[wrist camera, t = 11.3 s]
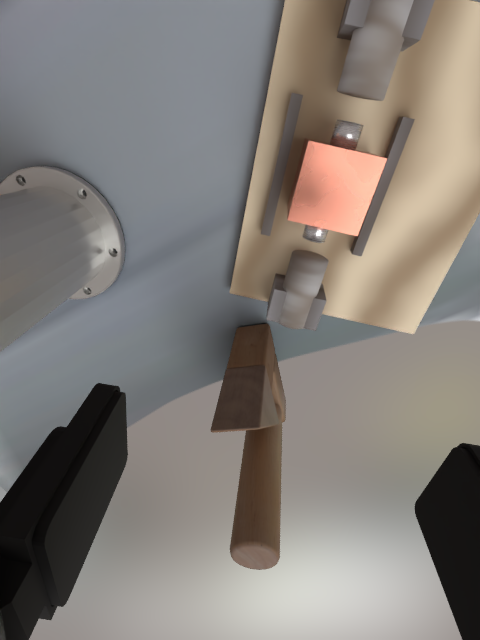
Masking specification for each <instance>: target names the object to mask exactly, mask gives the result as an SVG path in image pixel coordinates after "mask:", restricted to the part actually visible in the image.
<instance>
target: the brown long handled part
mask: <svg viewBox="0 0 480 640" xmlns="http://www.w3.org/2000/svg"><path fill="white" fill-rule="evenodd" d="M285 404H286V400H285V395H284V390H283V386H282V381H281V376H280V372H279V367H278V362H277V358H276V354H275V348H274V344H273V339H272V334H271V330H270V326H269V325H268V324H260V325H252V326H245V327H239V328H237V329H236V333H235V337H234V341H233V345H232V349H231V353H230V357H229V361H228V365H227V370H226V372H225V376H224V380H223V383H222V387H221V391H220V396H219V399H218V403H217V407H216V411H215V415H214V419H213V423H212V427H211V432H227V431H241V430H242V431H243V430H246V435H245V442H244V449H243V458H242V464H241V472H240V479H239V486H238V493H237V501H236V508H235V515H234V523H233V530H232V537H231V545H230V553H231V557H232V558H233V560H234V561H235V562H236V563H238V564H239V565H242V566H244V567H247V568H250V569H258V570H261V569H268V568H272V567H273V566H275V565H276V564H277V562H278V560H279V558H280V505H281V454H282V451H281V450H282V422H284V421H285V411H286V409H285V408H286V405H285Z"/></svg>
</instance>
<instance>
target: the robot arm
mask: <svg viewBox="0 0 480 640" xmlns="http://www.w3.org/2000/svg"><path fill="white" fill-rule="evenodd" d="M85 191H86V193H87V195H86V193H85ZM115 249H116V250H117V251H116V250H115ZM124 260H125V242H124V235H123V232H122V229H121V226H120V223H119V221H118V219H117V217H116V215H115V213H114V211H113V209H112V208H111V207H110V205H109V204H108V202H107V201H106V200H105V198H104V197H103V196H102V195H101V194H100V193H99V192H98V191H97V190H96V189H95V188H94V187H93V186H91V185H90V184H89V183H87V182H86V181H85V180H83V179H82V178H80V177H78V176H76V175H75V174H73V173H71V172H69V171H66V170H63V169H59V168H56V167H49V166H36V167H29V168H24V169H20V170H17V171H16V172H14V173H12V174H10V175H8V176H7V177H6V178H5V179H4V180H3V181H2V182H1V183H0V352H1V351H2V350H4V349H5V348H6V347H7V346H9V345H10V344H11V343H12V342H14V341H15V340H16V339H18V338H19V337H20V336H21V335H23V334H24V333H25V332H26V331H28V330H29V329H30V328H31V327H33V326H34V325H35V324H37V323H38V322H39V321H40V320H42V319H43V318H44V317H45V316H47V315H48V314H49V313H51V312H52V311H53V310H54V309H56V308H57V307H58V306H59V305H61V304H62V303H63V302H65V301H66V300H67V299H86V298H90V297H94V296H96V295H98V294H100V293H102V292H104V291H105V290H106V289H107V288H109V287H110V286H111V285H112V284H113V283H114V282H115V280H116V279H117V278H118V276H119V274H120V272H121V271H122V267H123V264H124ZM127 455H128V452H127V422H126V395H125V393H123V392H120V388H119V386H113V385H107V384H101V383H98V384H96V385H95V386H94V388H93V389H92V391H91V392H90V394H89V395H88V397H87V398H86V399H85V401H84V402H83V404H82V405H81V407H80V408H79V410H78V411H77V413H76V414H75V416H74V417H73V419H72V420H71V422H70V423H69V425H68V426H67V427H57V428H55V429H54V430H53V431H52V432H51V433H50V434H49V435H48V437H47V438H46V440H45V441H44V442H43V444H42V445H41V447H40V448H39V449H38V451H37V452H36V454H35V455H34V456H33V458H32V459H31V460H30V462H29V463H28V465H27V466H26V467H25V469H24V470H23V472H22V473H21V474H20V476H19V477H18V479H17V480H16V481H15V483H14V484H13V486H12V487H11V488H10V490H9V491H8V493H7V494H6V495H5V497H4V498H3V500H2V501H1V502H0V640H29V638H30V636H31V634H32V632H33V629H34V627H35V625H36V623H37V621H38V619H39V618H41V619H46V620H51V619H52V617H53V615H54V612H55V610H56V608H57V606H61V607H63V606H64V605H65V604H66V602H67V600H68V598H69V596H70V594H71V592H72V589H73V587H74V585H75V583H76V580H77V578H78V575H79V573H80V571H81V568H82V566H83V564H84V562H85V559H86V557H87V554H88V552H89V550H90V547H91V545H92V543H93V540H94V538H95V536H96V533H97V531H98V529H99V526H100V524H101V522H102V519H103V517H104V515H105V512H106V510H107V508H108V505H109V503H110V501H111V498H112V496H113V493H114V491H115V489H116V486H117V484H118V482H119V480H120V477H121V475H122V472H123V470H124V468H125V465H126V461H127ZM415 514H416V517H417V519H418V522H419V525H420V528H421V530H422V533H423V536H424V538H425V541H426V544H427V546H428V549H429V552H430V554H431V557H432V560H433V562H434V565H435V568H436V570H437V573H438V576H439V578H440V581H441V584H442V586H443V589H444V591H445V594H446V597H447V600H448V602H449V605H450V608H451V610H452V613H453V616H454V618H455V621H456V624H457V626H458V629H459V632H460V634H461V637H462V639H463V640H480V446H478V445H472V444H466V443H462V444H460V445H459V446H458V447H455V448H453V449H452V450H451V452H450V453H449V455H448V456H447V458H446V459H445V461H444V462H443V463H442V465H441V466H440V468H439V469H438V471H437V472H436V474H435V475H434V477H433V478H432V479H431V481H430V482H429V484H428V485H427V487H426V488H425V490H424V491H423V492H422V494H421V495H420V497H419V498H418V499H417V501H416V503H415Z"/></svg>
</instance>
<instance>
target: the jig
mask: <svg viewBox="0 0 480 640" xmlns="http://www.w3.org/2000/svg"><path fill="white" fill-rule="evenodd" d="M337 119H339V120H344V121H349V122H353V123H358V124H361V125H364V126H363V129H362V132H361V135H360V138H359V141H358V144H357V147H356V150H359V151H364V152H368V153H372V154H375V155H378V156H381V157H384V158H387V161H386V163H385V166H384V169H383V171H382V174H381V176H380V179H379V182H378V184H377V187H376V189H375V192H374V195H373V197H372V200H371V203H370V205H369V208H368V210H367V213H366V216H365V218H364V221H363V223H362V226H361V229H360V231H359V234H358V236H354V235H349V234H345V233H341V232H336V231H332V230H329V231H328V234H327V237H326V240H325V242H324V243H316V242H312V241H309V240H307V239H305V238H303V237H302V235H303V232H304V228H305V225H306V224H302V223H297V222H293V221H289V220H287V205H288V201H289V198H290V194H291V190H292V186H293V182H294V179H295V175H296V171H297V167H298V163H299V159H300V156H301V152H302V148H303V144H304V140H305V138H307V139H312V140H316V141H320V142H325V143H329V144H330V141H331V137H332V134H333V131H334V127H335V124H336V121H337ZM479 213H480V2H475V1H471V0H285V3H284V9H283V14H282V19H281V25H280V30H279V35H278V40H277V46H276V51H275V56H274V61H273V67H272V72H271V77H270V83H269V88H268V93H267V98H266V104H265V109H264V114H263V120H262V125H261V130H260V135H259V141H258V146H257V151H256V156H255V162H254V167H253V172H252V178H251V183H250V188H249V193H248V199H247V204H246V209H245V215H244V220H243V225H242V230H241V236H240V241H239V246H238V251H237V257H236V262H235V267H234V273H233V278H232V283H231V288H230V293H231V294H236V295H240V296H245V297H249V298H254V299H258V300H262V301H267V302H268V309H267V318H266V320H269V321H274V322H278V323H280V324H281V325H283V326H285V327H288V328H292V329H303V328H305V329H309V330H314V331H316V329H317V326H318V323H319V321H320V318H321V315H322V314H325V315H330V316H334V317H339V318H343V319H348V320H352V321H356V322H361V323H365V324H370V325H374V326H379V327H383V328H388V329H392V330H397V331H401V332H406V333H410V334H414V333H415V331H416V329H417V327H418V325H419V323H420V322H421V320H422V318H423V316H424V314H425V312H426V310H427V309H428V307H429V305H430V303H431V301H432V299H433V298H434V296H435V294H436V292H437V290H438V288H439V286H440V285H441V283H442V281H443V279H444V277H445V275H446V274H447V272H448V270H449V268H450V266H451V264H452V262H453V261H454V259H455V257H456V255H457V253H458V251H459V250H460V248H461V246H462V244H463V242H464V240H465V239H466V237H467V235H468V233H469V231H470V229H471V227H472V226H473V224H474V222H475V220H476V218H477V216H478V215H479Z"/></svg>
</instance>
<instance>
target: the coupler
mask: <svg viewBox="0 0 480 640" xmlns="http://www.w3.org/2000/svg"><path fill="white" fill-rule="evenodd" d="M363 126H364V125H361V124H358V123H353V122H349V121H344V120H339V119H337V121H336V124H335V127H334V131H333V134H332V137H331V141H330V144H329V143H325V142H320V141H316V140H312V139H307V138H305V140H304V144H303V148H302V152H301V156H300V159H299V163H298V167H297V171H296V175H295V179H294V182H293V186H292V190H291V194H290V198H289V201H288V205H287V220H289V221H293V222H297V223H302V224H306V225H305V228H304V232H303V235H302V237H303V238H305V239H307V240H309V241H312V242H316V243H324V242H325V240H326V237H327V234H328V231H329V230H332V231H336V232H341V233H345V234H349V235H354V236H358V234H359V231H360V229H361V226H362V223H363V221H364V218H365V216H366V213H367V210H368V208H369V205H370V203H371V200H372V197H373V195H374V192H375V189H376V187H377V184H378V182H379V179H380V176H381V174H382V171H383V169H384V166H385V163H386V161H387V158H384V157H381V156H378V155H375V154H372V153H368V152H364V151H359V150H356V147H357V144H358V141H359V138H360V135H361V132H362V129H363Z"/></svg>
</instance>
